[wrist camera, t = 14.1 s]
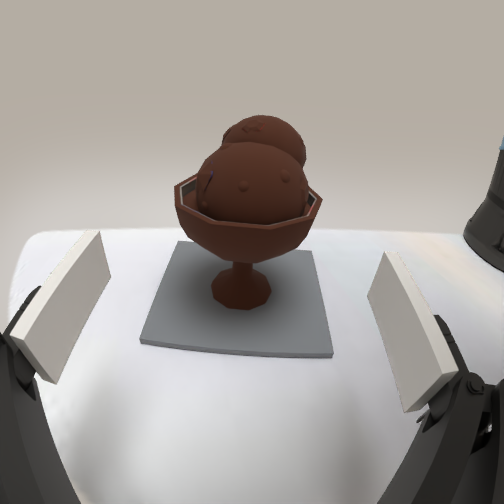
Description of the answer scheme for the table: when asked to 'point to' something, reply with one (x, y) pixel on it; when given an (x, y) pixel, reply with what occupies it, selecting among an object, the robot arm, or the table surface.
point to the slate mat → (239, 321)
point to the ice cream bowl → (249, 205)
